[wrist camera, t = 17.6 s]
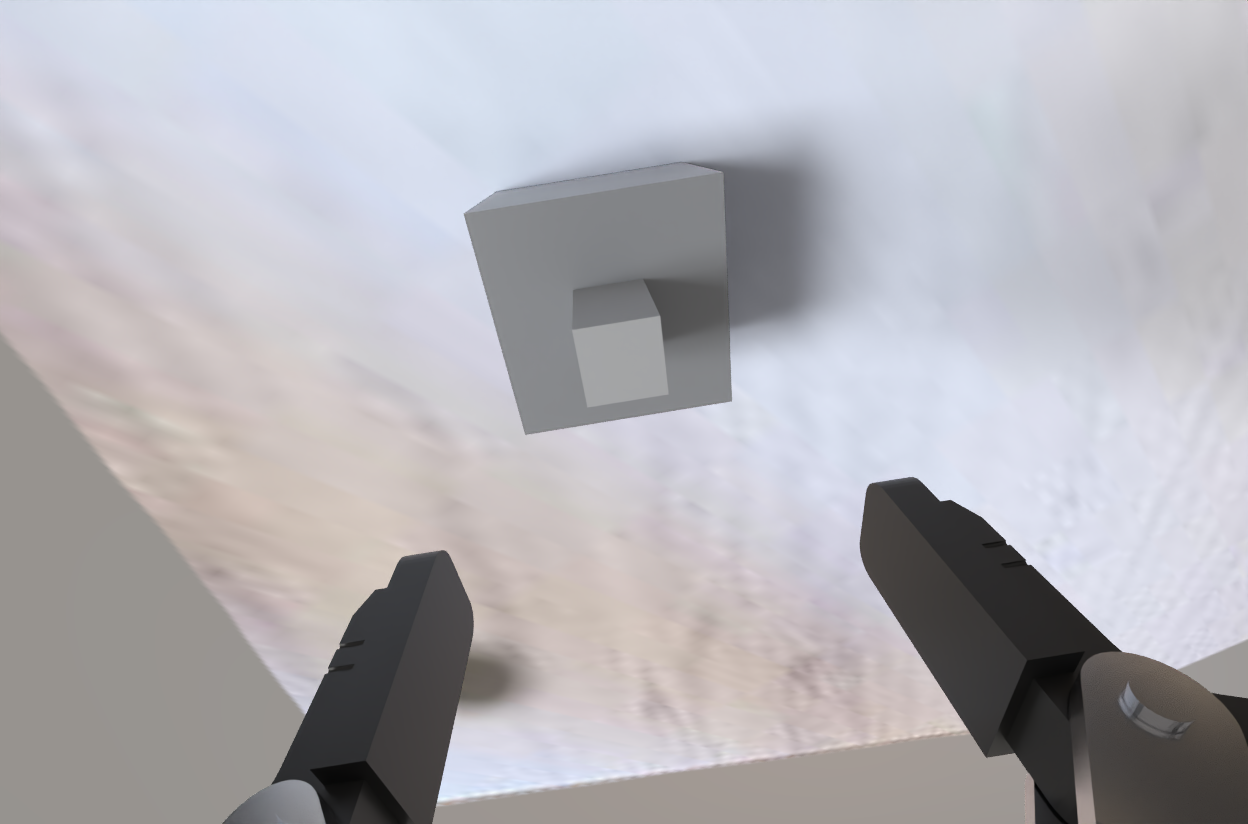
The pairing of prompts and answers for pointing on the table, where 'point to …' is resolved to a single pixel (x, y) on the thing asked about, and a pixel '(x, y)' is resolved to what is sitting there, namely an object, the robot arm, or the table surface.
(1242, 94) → the table surface
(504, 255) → the grey block with knob
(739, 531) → the table surface
